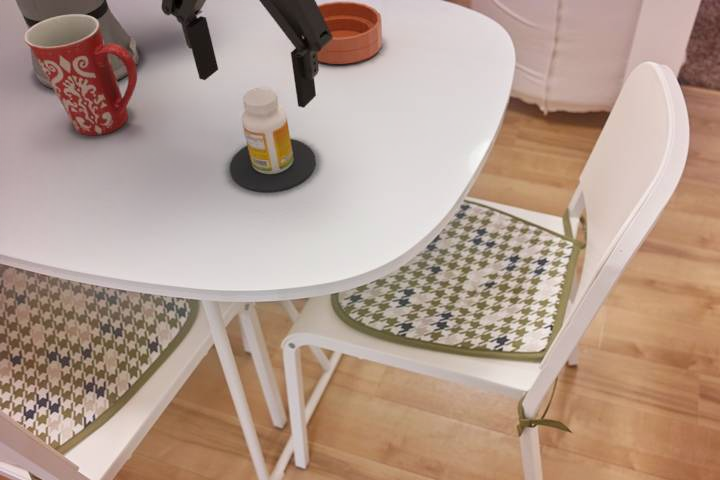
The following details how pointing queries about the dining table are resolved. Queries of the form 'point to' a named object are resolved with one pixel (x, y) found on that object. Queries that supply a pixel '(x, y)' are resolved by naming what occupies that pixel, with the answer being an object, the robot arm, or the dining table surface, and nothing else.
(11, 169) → the dining table surface
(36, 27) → the mug
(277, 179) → the coaster
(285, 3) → the robot arm
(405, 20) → the dining table surface
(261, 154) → the supplement bottle
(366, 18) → the bowl
